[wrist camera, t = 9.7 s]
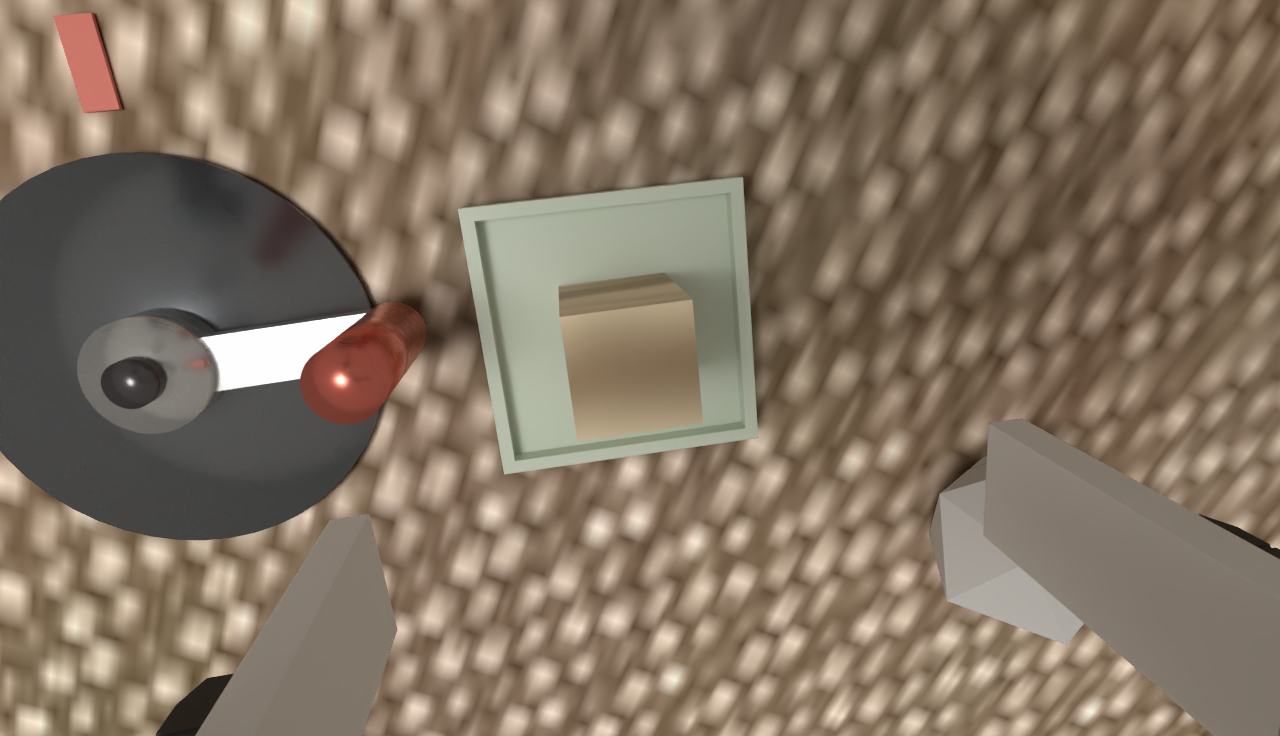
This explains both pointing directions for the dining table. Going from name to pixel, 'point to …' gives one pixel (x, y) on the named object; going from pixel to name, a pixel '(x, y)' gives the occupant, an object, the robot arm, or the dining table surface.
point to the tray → (594, 251)
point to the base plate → (178, 268)
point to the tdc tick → (88, 62)
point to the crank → (256, 362)
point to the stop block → (630, 356)
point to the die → (989, 565)
